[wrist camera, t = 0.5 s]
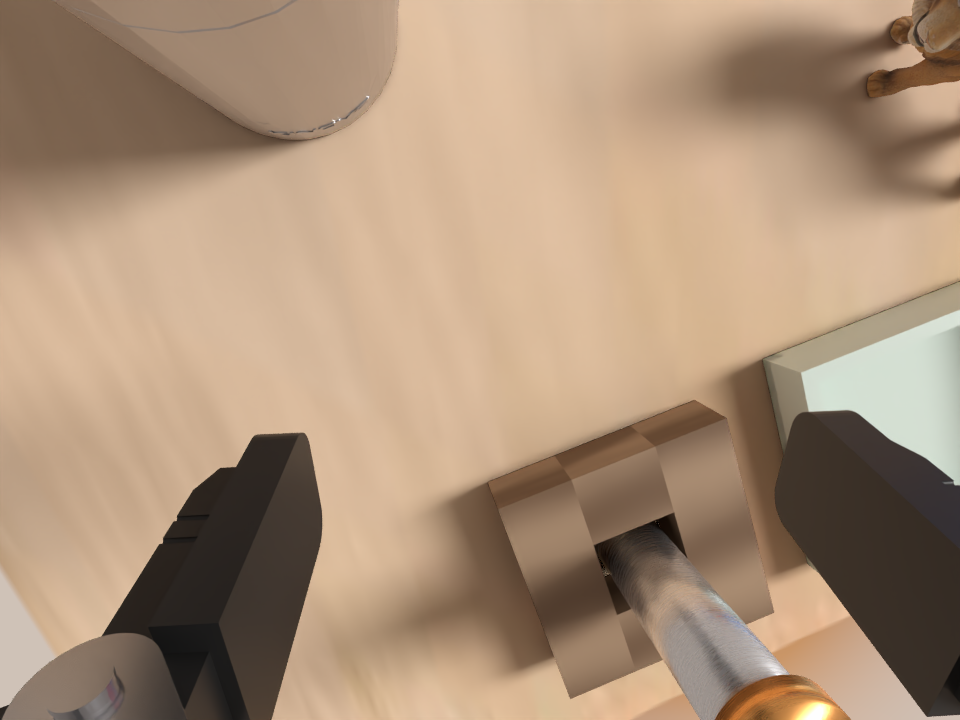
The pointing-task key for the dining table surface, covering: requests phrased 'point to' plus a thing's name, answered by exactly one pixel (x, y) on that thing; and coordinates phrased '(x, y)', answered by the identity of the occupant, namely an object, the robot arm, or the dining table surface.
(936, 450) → the tray
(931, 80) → the lion figurine
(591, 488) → the block
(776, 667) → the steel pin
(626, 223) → the dining table surface
